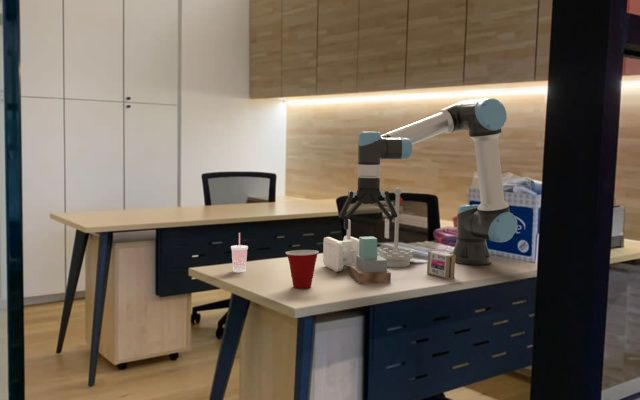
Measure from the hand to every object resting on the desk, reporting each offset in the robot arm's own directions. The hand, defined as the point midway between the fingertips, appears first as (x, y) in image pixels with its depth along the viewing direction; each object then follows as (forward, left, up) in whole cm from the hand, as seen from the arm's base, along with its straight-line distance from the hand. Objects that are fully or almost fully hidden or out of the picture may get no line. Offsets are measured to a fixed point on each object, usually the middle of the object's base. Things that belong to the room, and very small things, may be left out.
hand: (367, 238), depth 212 cm
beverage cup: (+43, -17, -14) cm, 49 cm away
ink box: (-28, -2, -15) cm, 31 cm away
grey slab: (-1, 0, -11) cm, 11 cm away
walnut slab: (-1, 0, -15) cm, 15 cm away
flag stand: (-18, -24, -15) cm, 33 cm away
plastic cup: (+24, +9, -14) cm, 30 cm away
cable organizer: (+5, -17, -15) cm, 23 cm away
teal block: (0, 0, -7) cm, 7 cm away
